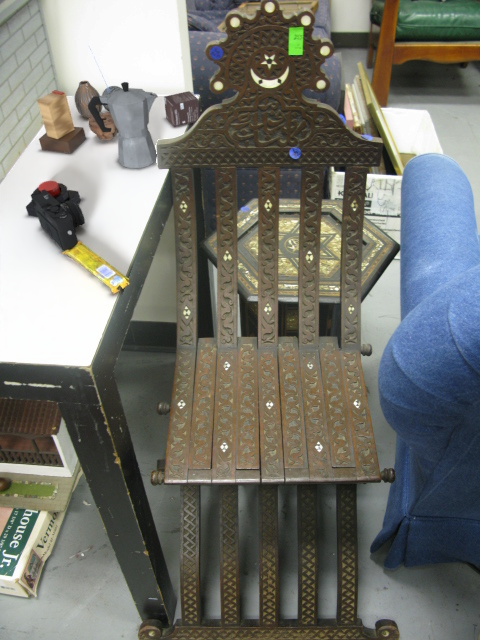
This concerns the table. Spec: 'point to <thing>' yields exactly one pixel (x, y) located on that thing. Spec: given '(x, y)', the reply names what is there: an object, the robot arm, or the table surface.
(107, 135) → the artifact
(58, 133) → the tan wooden block
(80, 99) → the vase
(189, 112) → the box
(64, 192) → the button block
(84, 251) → the candy bar
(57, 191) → the button
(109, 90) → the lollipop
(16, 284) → the table surface
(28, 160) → the table surface
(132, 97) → the coffeepot
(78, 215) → the camera
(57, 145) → the brown square block
